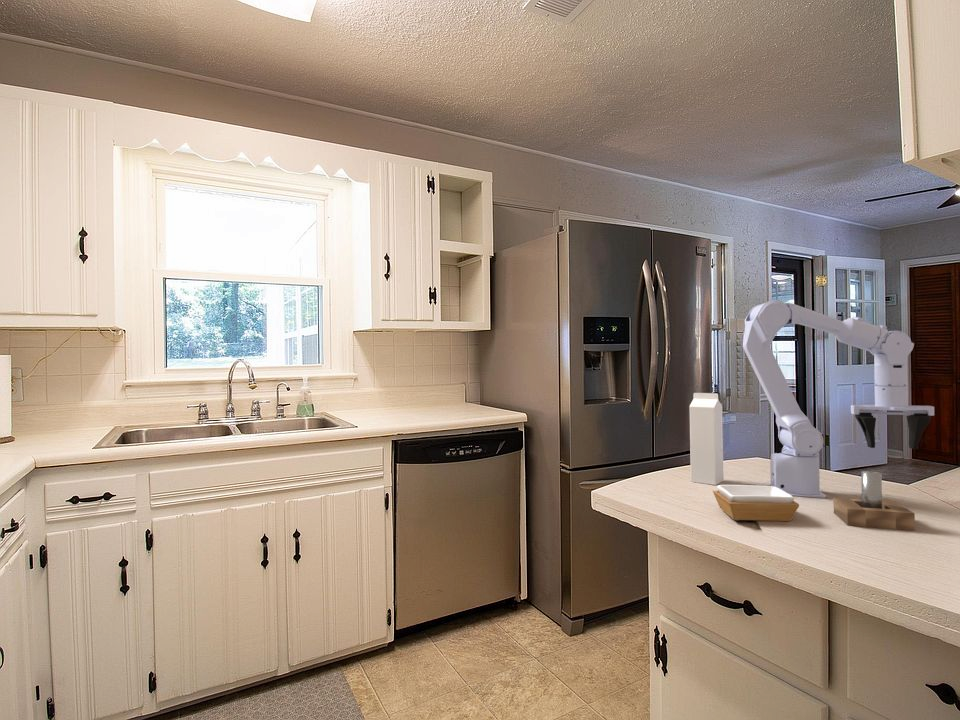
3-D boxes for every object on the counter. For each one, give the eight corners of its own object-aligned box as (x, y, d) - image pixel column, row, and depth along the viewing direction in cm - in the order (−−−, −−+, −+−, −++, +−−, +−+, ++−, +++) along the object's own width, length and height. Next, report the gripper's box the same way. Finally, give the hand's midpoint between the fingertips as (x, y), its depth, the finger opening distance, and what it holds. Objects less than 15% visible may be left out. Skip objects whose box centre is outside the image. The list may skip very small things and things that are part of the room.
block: (847, 525, 94) (847, 508, 94) (833, 512, 102) (833, 497, 102) (914, 530, 91) (914, 513, 91) (895, 517, 98) (894, 501, 98)
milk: (715, 485, 125) (714, 394, 125) (690, 481, 129) (688, 393, 129) (723, 480, 130) (722, 392, 129) (699, 477, 134) (697, 391, 133)
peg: (865, 523, 95) (864, 474, 95) (859, 518, 98) (858, 470, 98) (885, 524, 94) (884, 474, 94) (878, 519, 97) (877, 471, 97)
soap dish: (729, 523, 97) (729, 496, 97) (712, 508, 107) (711, 483, 107) (800, 524, 96) (800, 496, 96) (776, 509, 106) (775, 484, 106)
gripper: (858, 386, 112) (859, 449, 112) (941, 386, 107) (942, 452, 107) (847, 385, 119) (848, 444, 119) (924, 385, 114) (925, 446, 114)
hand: (892, 447), depth 113 cm, fingers open, 7 cm apart
